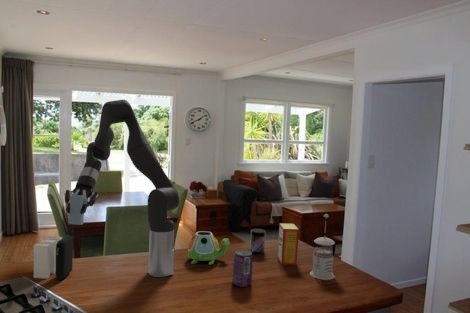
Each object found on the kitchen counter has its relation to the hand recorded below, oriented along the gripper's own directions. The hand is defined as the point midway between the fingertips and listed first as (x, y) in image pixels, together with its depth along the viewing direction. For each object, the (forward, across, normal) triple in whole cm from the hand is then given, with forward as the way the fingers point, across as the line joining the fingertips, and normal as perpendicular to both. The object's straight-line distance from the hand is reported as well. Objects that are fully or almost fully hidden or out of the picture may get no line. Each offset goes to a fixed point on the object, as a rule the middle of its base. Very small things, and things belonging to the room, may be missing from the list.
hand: (74, 212), depth 155 cm
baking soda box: (+5, +90, +19) cm, 92 cm away
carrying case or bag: (+27, +5, -1) cm, 28 cm away
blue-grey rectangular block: (+2, 0, +5) cm, 5 cm away
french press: (+15, +102, +8) cm, 104 cm away
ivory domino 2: (+22, -2, +5) cm, 22 cm away
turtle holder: (+9, +55, +17) cm, 58 cm away
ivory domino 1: (+28, -2, -1) cm, 28 cm away
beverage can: (+24, +70, 0) cm, 74 cm away
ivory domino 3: (+25, -2, +2) cm, 25 cm away
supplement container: (-1, +78, +26) cm, 82 cm away
